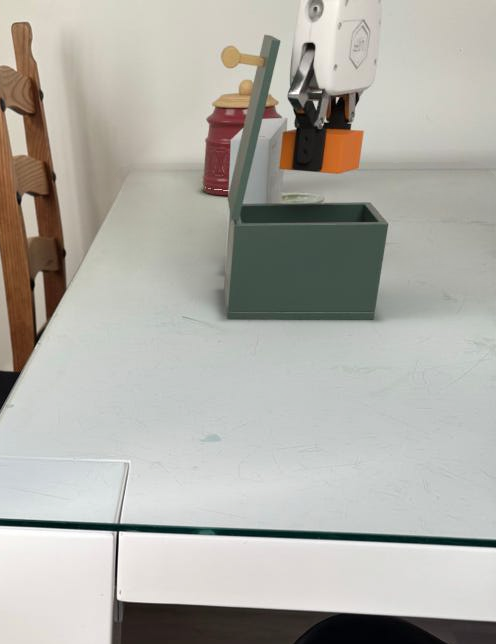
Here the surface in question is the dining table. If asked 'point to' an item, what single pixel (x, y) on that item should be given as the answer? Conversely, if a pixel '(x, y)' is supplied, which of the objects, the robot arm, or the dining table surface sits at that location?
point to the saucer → (301, 198)
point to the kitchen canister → (228, 134)
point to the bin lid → (250, 114)
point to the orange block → (328, 150)
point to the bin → (304, 261)
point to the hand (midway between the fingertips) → (319, 165)
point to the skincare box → (262, 165)
